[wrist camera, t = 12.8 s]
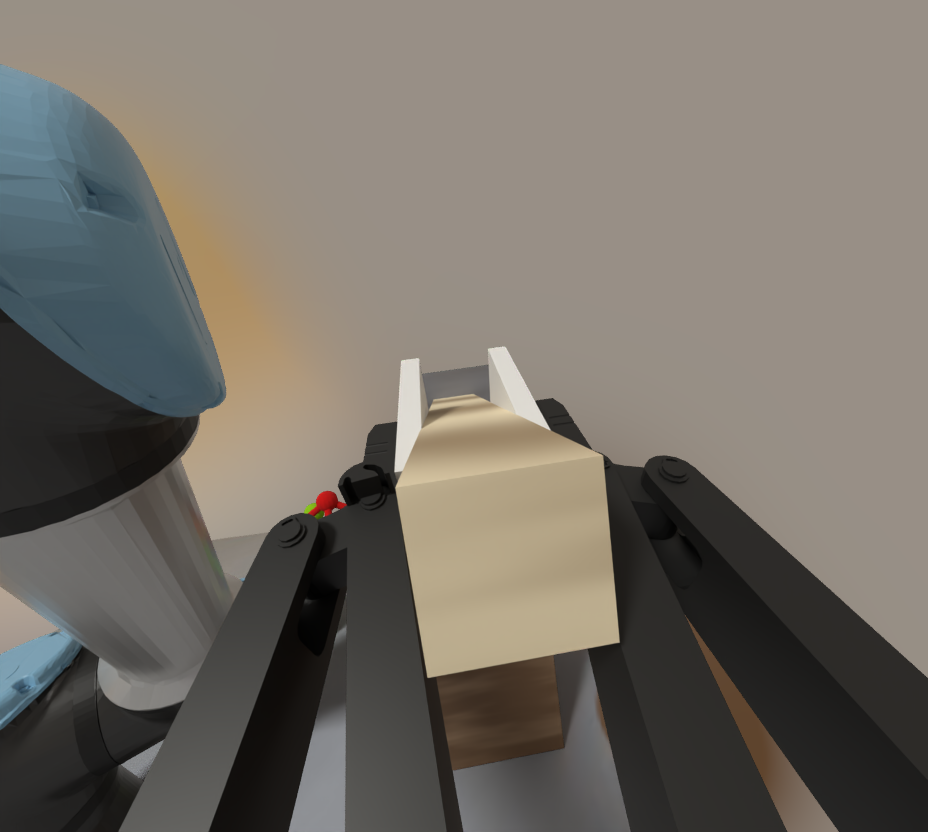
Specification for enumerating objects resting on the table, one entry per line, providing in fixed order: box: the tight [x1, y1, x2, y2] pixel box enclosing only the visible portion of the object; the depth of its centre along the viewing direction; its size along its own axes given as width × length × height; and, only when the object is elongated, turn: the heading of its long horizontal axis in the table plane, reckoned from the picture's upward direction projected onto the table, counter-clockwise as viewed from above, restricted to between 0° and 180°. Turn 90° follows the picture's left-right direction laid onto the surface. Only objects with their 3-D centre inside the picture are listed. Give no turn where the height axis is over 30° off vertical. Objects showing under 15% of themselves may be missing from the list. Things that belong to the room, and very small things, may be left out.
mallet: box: [395, 365, 620, 678], centre depth 19 cm, size 28×7×5 cm, turn 4°
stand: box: [436, 655, 564, 770], centre depth 42 cm, size 15×15×29 cm
